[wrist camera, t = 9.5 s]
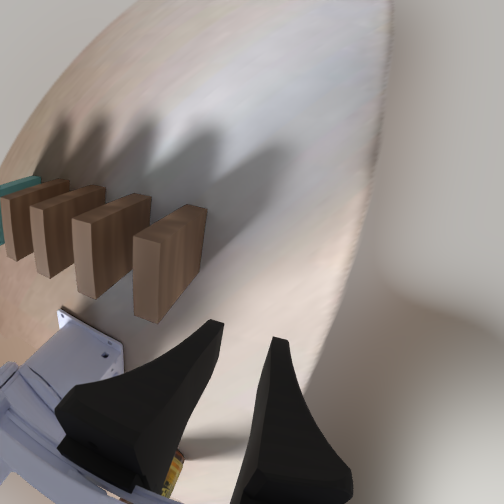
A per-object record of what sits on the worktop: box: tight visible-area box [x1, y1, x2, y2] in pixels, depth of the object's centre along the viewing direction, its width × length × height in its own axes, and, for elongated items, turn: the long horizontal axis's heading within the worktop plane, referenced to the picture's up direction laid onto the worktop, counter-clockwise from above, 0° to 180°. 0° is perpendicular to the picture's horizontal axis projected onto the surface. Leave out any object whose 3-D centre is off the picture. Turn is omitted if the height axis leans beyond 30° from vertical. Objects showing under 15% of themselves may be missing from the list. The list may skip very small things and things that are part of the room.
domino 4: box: [72, 193, 151, 300], centre depth 18 cm, size 2×5×7 cm, turn 169°
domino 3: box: [30, 185, 106, 279], centre depth 19 cm, size 2×5×7 cm, turn 169°
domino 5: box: [133, 204, 207, 324], centre depth 18 cm, size 2×5×7 cm, turn 170°
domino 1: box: [0, 176, 41, 245], centre depth 20 cm, size 2×5×7 cm, turn 169°
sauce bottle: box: [119, 450, 185, 504], centre depth 26 cm, size 7×6×20 cm
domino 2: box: [0, 179, 69, 262], centre depth 19 cm, size 2×5×7 cm, turn 169°
